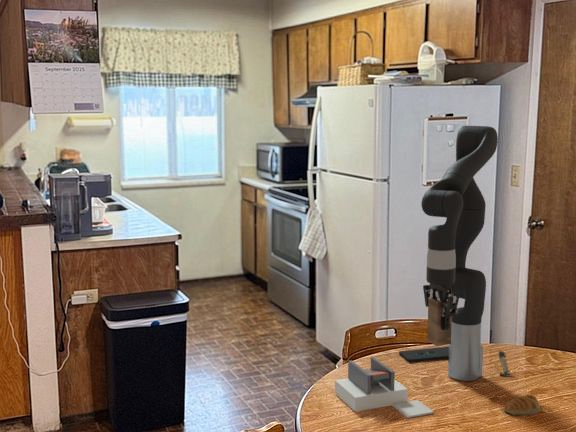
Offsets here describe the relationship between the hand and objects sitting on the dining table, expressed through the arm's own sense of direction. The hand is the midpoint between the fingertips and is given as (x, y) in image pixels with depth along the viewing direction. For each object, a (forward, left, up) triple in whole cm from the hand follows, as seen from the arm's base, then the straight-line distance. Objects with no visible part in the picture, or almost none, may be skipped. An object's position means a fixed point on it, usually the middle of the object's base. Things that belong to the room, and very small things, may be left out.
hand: (439, 326), depth 186 cm
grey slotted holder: (+15, -11, -22) cm, 29 cm away
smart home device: (-19, -33, -23) cm, 45 cm away
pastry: (-19, +11, -23) cm, 32 cm away
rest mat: (+8, 0, -22) cm, 24 cm away
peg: (0, 0, -4) cm, 4 cm away
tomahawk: (-37, -18, -23) cm, 47 cm away
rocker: (+15, -11, -15) cm, 24 cm away
